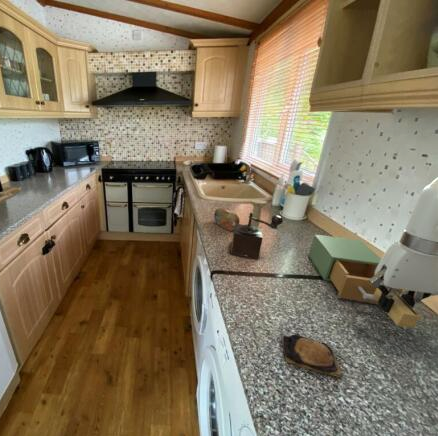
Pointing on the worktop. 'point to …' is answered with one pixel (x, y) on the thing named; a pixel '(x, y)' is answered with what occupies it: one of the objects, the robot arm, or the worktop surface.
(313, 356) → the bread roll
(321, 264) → the cabinet
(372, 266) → the drawer
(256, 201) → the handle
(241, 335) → the worktop surface
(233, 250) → the manual coffee grinder
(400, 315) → the wooden block
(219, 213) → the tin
